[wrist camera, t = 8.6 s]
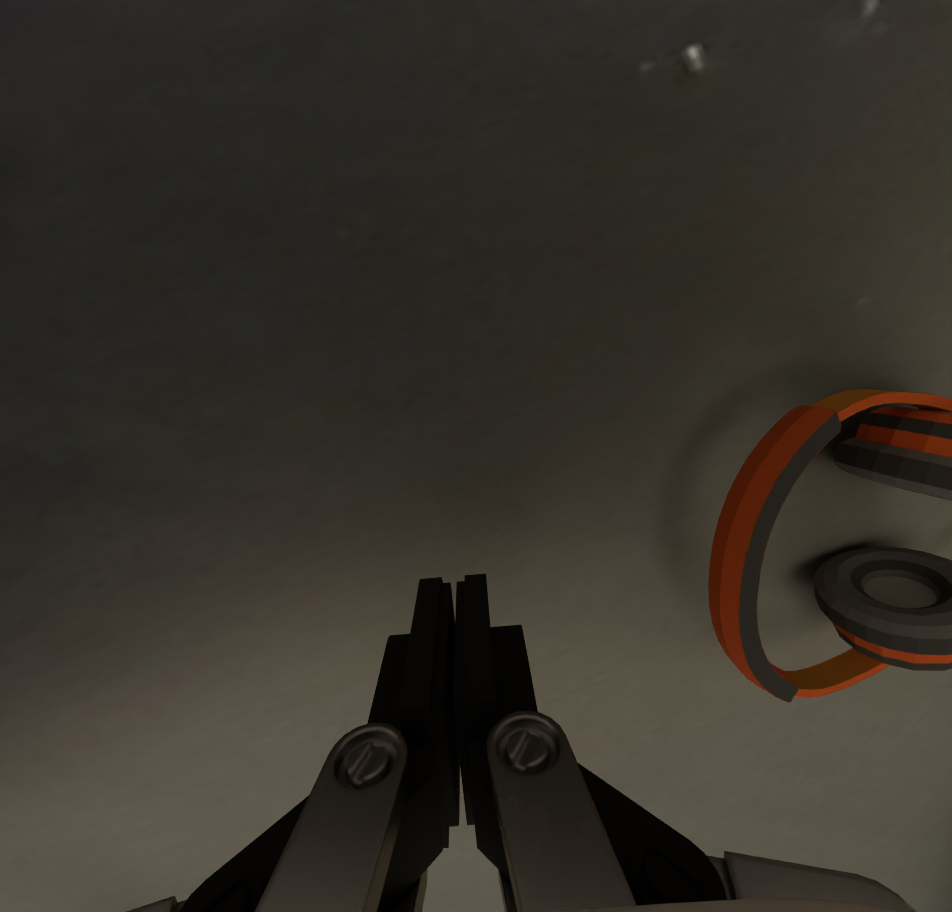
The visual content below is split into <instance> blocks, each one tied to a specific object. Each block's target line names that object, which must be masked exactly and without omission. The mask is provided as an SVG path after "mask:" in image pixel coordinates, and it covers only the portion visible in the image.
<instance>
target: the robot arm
mask: <svg viewBox="0 0 952 912" xmlns="http://www.w3.org/2000/svg"><path fill="white" fill-rule="evenodd" d="M460 768H461V777H462V785H463V794H464V802H465V811H466V819H467V825H475V832H476V841H477V848H478V849H479V850H480V851H481V852H482V853H483V854H484V855H485V856H486V857H487V858H488V859H489V860H490V861H491V862H492V863H493V864H494V865H495V866H496V867H497V868H498V875H499V883H500V888H501V893H502V898H503V904H504V909H505V912H916V911H915V910H914V909H913V908H912V907H911V906H910V905H909V904H908V903H907V902H906V901H905V900H904V899H903V898H901V897H900V896H899V895H898V894H897V893H895V892H893V891H892V890H890V889H889V888H887V887H885V886H884V885H882V884H881V883H879V882H877V881H875V880H872V879H869V878H866V877H864V876H861V875H858V874H853V873H848V872H842V871H836V870H830V869H825V868H819V867H813V866H807V865H802V864H796V863H790V862H784V861H779V860H773V859H767V858H761V857H756V856H750V855H744V854H739V853H733V852H727V851H724V859H723V858H717V857H712V856H706V855H705V853H704V852H703V851H701V850H700V849H699V848H698V847H697V846H696V845H695V844H693V843H692V842H691V841H690V840H689V839H687V838H686V837H684V836H683V835H681V834H680V833H678V832H677V831H676V830H674V829H673V828H671V827H670V826H668V825H667V824H665V823H664V822H663V821H661V820H660V819H658V818H657V817H655V816H654V815H652V814H651V813H650V812H648V811H647V810H645V809H644V808H642V807H641V806H639V805H638V804H637V803H635V802H634V801H632V800H631V799H629V798H628V797H626V796H625V795H624V794H622V793H621V792H619V791H618V790H616V789H615V788H613V787H612V786H611V785H609V784H608V783H606V782H605V781H603V780H602V779H600V778H599V777H598V776H596V775H595V774H593V773H592V772H590V771H589V770H587V769H586V768H585V767H583V766H582V765H580V764H579V763H577V761H576V758H575V756H574V754H573V751H572V749H571V747H570V744H569V742H568V739H567V737H566V735H565V733H564V732H563V730H562V728H561V727H560V725H558V724H557V723H556V722H555V721H554V720H553V719H552V718H550V717H548V716H546V715H544V714H542V713H539V712H538V711H537V705H536V700H535V694H534V689H533V683H532V678H531V673H530V667H529V662H528V656H527V651H526V645H525V640H524V634H523V629H522V626H521V625H512V626H500V627H490V618H489V605H488V593H487V581H486V574H476V575H465V581H462V582H457V589H456V621H455V618H454V609H453V600H452V591H451V583H450V582H449V583H443V581H442V577H439V578H427V579H420V581H419V586H418V592H417V598H416V604H415V610H414V615H413V621H412V627H411V633H410V634H402V635H390V636H389V638H388V641H387V644H386V649H385V653H384V657H383V661H382V665H381V669H380V674H379V678H378V682H377V686H376V690H375V694H374V699H373V703H372V707H371V711H370V715H369V719H368V724H365V725H363V726H360V727H357V728H355V729H353V730H352V731H350V732H348V733H347V734H345V735H344V736H343V737H342V738H341V739H340V740H339V741H338V742H337V743H336V744H335V745H334V747H333V748H332V750H331V752H330V753H329V755H328V757H327V759H326V761H325V763H324V765H323V767H322V770H321V772H320V774H319V776H318V778H317V780H316V782H315V784H314V787H313V789H312V791H311V793H310V795H309V796H308V797H306V798H305V799H304V800H303V801H302V802H300V803H299V804H298V805H297V806H295V807H294V808H293V809H292V810H291V811H289V812H288V813H287V814H286V815H284V816H283V817H282V818H281V819H280V820H278V821H277V822H276V823H275V824H273V825H272V826H271V827H270V828H269V829H267V830H266V831H265V832H264V833H262V834H261V835H260V836H259V837H258V838H256V839H255V840H254V841H253V842H252V843H250V844H249V845H248V846H247V847H245V848H244V849H243V850H242V851H241V852H239V853H238V854H237V855H236V856H234V857H233V858H232V859H231V860H230V861H228V862H227V863H226V864H225V865H223V866H222V867H221V868H220V869H219V870H217V871H216V872H215V873H214V874H212V875H211V876H210V877H209V878H208V879H206V880H205V881H204V882H203V883H202V884H201V885H200V886H199V887H198V888H197V889H196V890H195V891H194V892H193V893H192V894H191V895H190V896H189V898H188V899H187V900H185V901H182V902H179V903H177V900H176V898H175V896H172V897H169V898H166V899H163V900H160V901H157V902H154V903H151V904H148V905H145V906H142V907H139V908H136V909H133V910H130V911H127V912H422V908H423V902H424V897H425V892H426V887H427V873H428V872H427V868H428V867H429V866H430V865H431V863H432V862H433V861H434V860H435V859H436V858H437V857H438V855H439V854H440V853H441V852H442V851H443V848H449V827H451V826H459V801H460Z"/></svg>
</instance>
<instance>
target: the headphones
mask: <svg viewBox="0 0 952 912" xmlns="http://www.w3.org/2000/svg"><path fill="white" fill-rule="evenodd" d="M887 403H906V404H909V405H912V406H915V407H917V408H919V409H910V408H899V407H882V408H879V409H877V410H874V411H871V412H868V414H867V415H866V416H865V418H864V419H863V421H862V422H861V423H860V425H859V428H858V431H857V434H856V436H855V438H849V439H846V440H843V441H841V442H839V444H838V446H837V449H836V452H835V455H834V458H833V460H834V461H835V462H836V464H837V465H838V466H839V467H840V468H841V469H842V470H845V471H847V472H850V473H852V474H855V475H857V476H859V477H862V478H866V479H869V480H872V481H875V482H879V483H883V484H887V485H890V486H894V487H898V488H902V489H905V490H909V491H913V492H917V493H922V494H926V495H930V496H934V497H938V498H943V499H947V500H951V501H952V399H948V398H944V397H939V396H935V395H931V394H921V393H910V392H900V391H889V390H878V389H854V390H849V391H843V392H839V393H836V394H834V395H831V396H829V397H826V398H824V399H822V400H820V401H818V402H817V403H815V404H813V405H811V406H799V407H796V408H794V409H792V410H790V411H789V412H788V413H787V414H786V415H785V416H783V417H782V418H781V419H780V420H779V421H778V422H777V423H776V424H775V425H774V426H773V427H772V428H771V429H770V431H769V432H768V433H767V434H766V435H765V436H764V437H763V438H762V439H761V440H760V442H759V443H758V445H757V446H756V447H755V449H754V450H753V451H752V453H751V454H750V455H749V457H748V458H747V460H746V461H745V463H744V464H743V466H742V468H741V470H740V471H739V473H738V475H737V477H736V478H735V480H734V482H733V485H732V487H731V489H730V491H729V493H728V495H727V498H726V501H725V503H724V506H723V509H722V511H721V514H720V517H719V520H718V524H717V528H716V532H715V536H714V540H713V545H712V552H711V559H710V570H709V583H708V586H709V607H710V613H711V618H712V624H713V627H714V630H715V632H716V635H717V638H718V641H719V642H720V644H721V646H722V648H723V649H724V651H725V653H726V654H727V655H728V657H729V658H730V659H731V660H732V662H733V663H734V664H735V665H736V667H737V668H738V669H739V670H740V671H741V672H742V673H743V674H744V676H745V677H746V678H747V679H749V680H750V681H751V682H753V683H754V684H756V685H757V686H758V687H760V688H762V689H763V690H765V691H767V692H769V693H770V694H772V695H774V696H775V697H777V698H779V699H782V700H784V701H786V702H791V701H792V699H793V697H794V696H795V697H805V698H807V697H818V696H824V695H827V694H830V693H833V692H836V691H839V690H842V689H845V688H847V687H849V686H851V685H853V684H855V683H857V682H859V681H861V680H863V679H866V678H868V677H870V676H872V675H874V674H876V673H878V672H879V671H881V670H883V669H884V668H886V667H888V666H889V665H893V666H897V667H901V668H906V669H910V670H920V671H945V670H948V669H951V668H952V561H951V560H949V559H946V558H943V557H940V556H936V555H933V554H930V553H927V552H923V551H917V550H912V549H906V548H895V547H869V548H862V549H856V550H851V551H846V552H843V553H840V554H838V555H835V556H832V557H830V558H829V559H828V560H826V561H825V562H823V563H822V564H821V565H820V566H819V568H818V569H817V571H816V573H815V580H814V586H815V597H816V600H817V602H818V605H819V607H820V609H821V610H822V611H823V612H824V614H825V615H826V616H827V617H828V618H829V619H830V620H831V621H832V623H833V625H834V626H835V628H836V630H837V632H838V634H839V636H840V637H841V638H842V639H843V640H845V641H846V642H847V643H848V644H849V645H851V646H852V647H853V648H852V649H850V650H848V651H846V652H845V653H843V654H840V655H838V656H836V657H834V658H832V659H829V660H827V661H825V662H823V663H820V664H817V665H815V666H812V667H809V668H805V669H801V670H797V671H783V670H781V669H779V668H778V667H776V666H774V665H772V664H771V663H770V662H769V661H768V659H767V657H766V656H765V653H764V650H763V648H762V645H761V641H760V636H759V631H758V622H757V596H758V586H759V578H760V571H761V566H762V561H763V557H764V552H765V548H766V545H767V542H768V539H769V536H770V533H771V530H772V527H773V524H774V522H775V520H776V517H777V515H778V513H779V511H780V509H781V506H782V504H783V502H784V500H785V499H786V497H787V495H788V494H789V492H790V490H791V488H792V487H793V485H794V483H795V482H796V480H797V479H798V478H799V476H800V475H801V474H802V472H803V471H804V469H805V468H806V467H807V465H808V464H809V463H810V462H811V461H812V459H813V458H814V457H815V456H816V455H817V454H818V453H819V452H820V451H821V450H822V449H823V447H824V446H825V445H826V444H827V443H829V442H830V441H831V440H832V439H833V438H834V437H835V436H836V435H837V434H838V433H839V432H840V430H841V421H843V420H845V419H846V418H848V417H850V416H851V415H853V414H855V413H857V412H859V411H862V410H864V409H866V408H869V407H871V406H876V405H881V404H887Z"/></svg>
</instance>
